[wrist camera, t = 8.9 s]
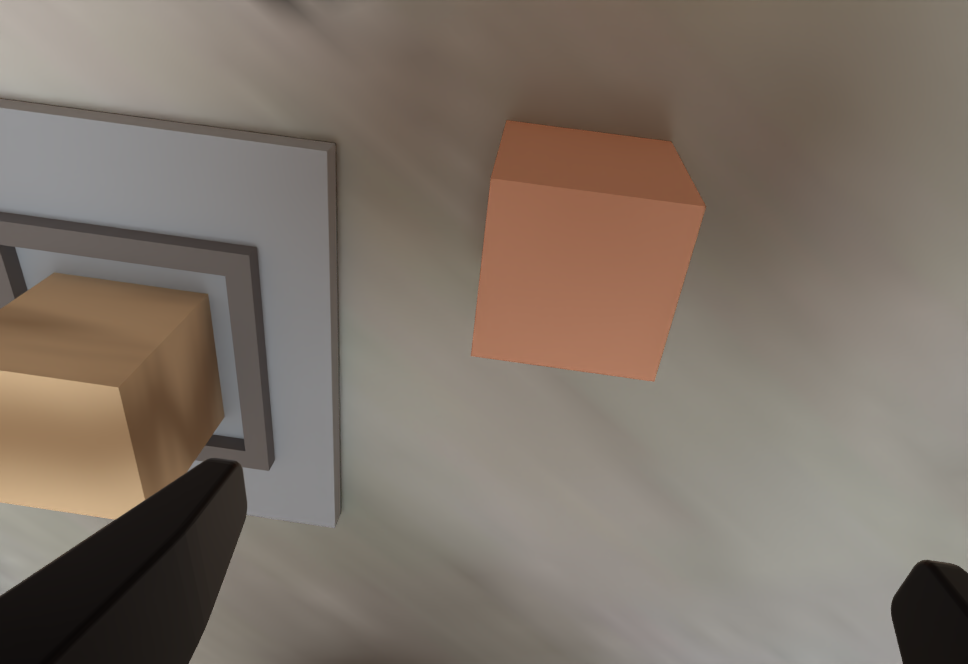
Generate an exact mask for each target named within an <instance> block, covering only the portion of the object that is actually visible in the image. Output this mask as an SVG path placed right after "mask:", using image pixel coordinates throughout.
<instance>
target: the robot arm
mask: <svg viewBox="0 0 968 664" xmlns="http://www.w3.org/2000/svg"><path fill="white" fill-rule="evenodd" d="M246 514H247V497H246V489H245V481H244V474H243V468H242V466H241V464H240V463H239V462H237V461H234V460H227V459H220V458H209V459H207V460H205V461H203V462H201V463H200V464H198V465H197V466H195V467H194V468H192V469H191V470H189V471H188V472H186V473H185V474H183V475H182V476H180V477H179V478H177V479H176V480H174V481H173V482H171V483H170V484H168V485H167V486H165V487H164V488H162V489H161V490H159V491H158V492H156V493H155V494H153V495H152V496H150V497H149V498H147V499H146V500H144V501H143V502H141V503H140V504H138V505H137V506H135V507H134V508H132V509H131V510H129V511H128V512H126V513H125V514H123V515H122V516H120V517H118V518H117V519H115V520H114V521H112V522H111V523H109V524H108V525H106V526H105V527H103V528H102V529H100V530H99V531H97V532H96V533H94V534H93V535H91V536H90V537H88V538H87V539H85V540H84V541H82V542H81V543H79V544H78V545H76V546H75V547H73V548H72V549H70V550H69V551H67V552H66V553H64V554H63V555H61V556H60V557H58V558H57V559H55V560H54V561H52V562H51V563H49V564H48V565H46V566H45V567H43V568H42V569H40V570H39V571H37V572H36V573H34V574H33V575H31V576H30V577H28V578H27V579H25V580H24V581H22V582H21V583H19V584H18V585H16V586H15V587H13V588H12V589H10V590H8V591H7V592H5V593H4V594H2V595H1V596H0V664H188V663H189V661H190V659H191V657H192V655H193V653H194V651H195V649H196V647H197V645H198V643H199V641H200V639H201V636H202V634H203V632H204V630H205V628H206V625H207V623H208V620H209V617H210V615H211V612H212V610H213V607H214V604H215V602H216V599H217V596H218V593H219V591H220V588H221V585H222V582H223V580H224V577H225V574H226V571H227V569H228V566H229V563H230V560H231V558H232V555H233V552H234V549H235V547H236V544H237V541H238V539H239V536H240V533H241V530H242V528H243V525H244V522H245V519H246ZM891 616H892V621H893V625H894V629H895V633H896V637H897V641H898V645H899V649H900V653H901V657H902V662H903V664H968V573H967V572H966V571H964V570H963V569H962V568H960V567H959V566H957V565H954V564H951V563H945V562H938V561H931V560H922V561H920V562H918V563H917V564H916V565H915V566H914V567H913V569H912V570H911V572H910V573H909V575H908V576H907V578H906V579H905V581H904V582H903V584H902V585H901V586H900V588H899V589H898V591H897V592H896V594H895V595H894V597H893V600H892V604H891Z"/></svg>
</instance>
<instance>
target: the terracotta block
mask: <svg viewBox="0 0 968 664" xmlns="http://www.w3.org/2000/svg"><path fill="white" fill-rule="evenodd" d="M705 209H706V206H705V204H704V202H703V200H702V198H701V196H700V194H699V193H698V191H697V189H696V187H695V185H694V183H693V181H692V179H691V178H690V176H689V174H688V172H687V170H686V168H685V166H684V164H683V163H682V161H681V159H680V157H679V155H678V153H677V151H676V149H675V148H674V146H673V144H672V142H671V141H663V140H656V139H648V138H640V137H633V136H625V135H617V134H609V133H602V132H594V131H586V130H578V129H571V128H563V127H555V126H547V125H540V124H532V123H524V122H517V121H509V120H506V124H505V128H504V131H503V135H502V139H501V142H500V146H499V150H498V153H497V157H496V161H495V164H494V168H493V172H492V175H491V180H490V189H489V198H488V207H487V216H486V225H485V234H484V243H483V252H482V261H481V270H480V279H479V288H478V297H477V306H476V315H475V324H474V333H473V342H472V351H471V356H475V357H482V358H489V359H496V360H503V361H511V362H518V363H525V364H532V365H539V366H546V367H553V368H561V369H568V370H575V371H582V372H589V373H596V374H604V375H611V376H618V377H625V378H632V379H639V380H646V381H655V377H656V374H657V371H658V367H659V364H660V360H661V357H662V354H663V350H664V347H665V344H666V340H667V337H668V333H669V330H670V327H671V323H672V320H673V317H674V313H675V310H676V307H677V303H678V300H679V296H680V293H681V290H682V286H683V283H684V280H685V276H686V273H687V269H688V266H689V263H690V259H691V256H692V253H693V249H694V246H695V242H696V239H697V236H698V232H699V229H700V226H701V222H702V219H703V215H704V212H705Z"/></svg>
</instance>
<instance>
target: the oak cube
mask: <svg viewBox="0 0 968 664" xmlns="http://www.w3.org/2000/svg"><path fill="white" fill-rule="evenodd" d="M224 417H225V416H224V408H223V401H222V393H221V386H220V378H219V371H218V363H217V356H216V348H215V341H214V333H213V326H212V318H211V311H210V303H209V296H208V294H205V293H198V292H190V291H183V290H176V289H169V288H162V287H155V286H147V285H140V284H133V283H126V282H119V281H112V280H104V279H97V278H90V277H83V276H76V275H69V274H61V273H53V274H51V275H50V276H48V277H47V278H45V279H44V280H42V281H41V282H39V283H38V284H36V285H35V286H34V287H32V288H31V289H29V290H28V291H26V292H25V293H23V294H22V295H20V296H19V297H17V298H16V299H14V300H13V301H11V302H10V303H9V304H7V305H6V306H4V307H3V308H1V309H0V502H2V503H8V504H15V505H22V506H29V507H35V508H42V509H49V510H55V511H62V512H69V513H75V514H82V515H89V516H95V517H102V518H109V519H117V518H118V517H120V516H122V515H123V514H125V513H126V512H128V511H129V510H131V509H132V508H134V507H135V506H137V505H138V504H140V503H141V502H143V501H144V500H146V499H147V498H149V497H150V496H152V495H153V494H155V493H156V492H158V491H159V490H161V489H162V488H164V487H165V486H167V485H168V484H170V483H171V482H173V481H174V480H176V479H177V478H179V477H180V476H182V475H183V474H185V473H186V472H187V471H188V470H189V468H190V467H191V465H192V464H193V462H194V461H195V460H196V458H197V457H198V455H199V454H200V452H201V451H202V449H203V448H204V446H205V445H206V443H207V442H208V441H209V439H210V438H211V436H212V435H213V433H214V432H215V430H216V429H217V427H218V426H219V424H220V423H221V422H222V420H223V419H224Z"/></svg>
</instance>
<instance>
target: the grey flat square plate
mask: <svg viewBox="0 0 968 664" xmlns="http://www.w3.org/2000/svg"><path fill="white" fill-rule="evenodd" d="M53 273H61V274H69V275H76V276H83V277H90V278H97V279H104V280H112V281H119V282H126V283H133V284H140V285H147V286H155V287H162V288H169V289H176V290H183V291H190V292H198V293H205V294H208V296H209V303H210V311H211V318H212V326H213V333H214V341H215V348H216V356H217V363H218V371H219V378H220V386H221V393H222V401H223V408H224V416H225V417H224V419H223V420H222V422H221V423H220V424H219V426H218V427H217V429H216V430H215V432H214V433H213V435H212V436H211V438H210V439H209V441H208V442H207V443H206V445H205V446H204V448H203V449H202V451H201V452H200V454H199V455H198V457H197V458H196V460H195V461H194V462H193V464H192V465H191V467H190V468H189V470H191V469H192V468H194V467H195V466H197V465H198V464H200V463H201V462H203V461H205V460H207V459H209V458H220V459H227V460H234V461H237V462H239V463H240V464H241V466H242V468H243V474H244V481H245V489H246V497H247V514H246V515H250V516H257V517H264V518H271V519H277V520H284V521H291V522H297V523H304V524H311V525H318V526H324V527H331V528H335V527H336V524H337V522H338V519H339V516H340V514H341V492H340V424H339V356H338V288H337V220H336V152H335V143H329V142H322V141H314V140H307V139H299V138H292V137H284V136H277V135H269V134H262V133H254V132H247V131H239V130H232V129H224V128H217V127H209V126H202V125H194V124H187V123H179V122H172V121H164V120H157V119H149V118H142V117H134V116H127V115H119V114H112V113H104V112H97V111H89V110H82V109H74V108H67V107H59V106H52V105H44V104H37V103H29V102H22V101H14V100H7V99H0V309H1V308H3V307H4V306H6V305H7V304H9V303H10V302H11V301H13V300H14V299H16V298H17V297H19V296H20V295H22V294H23V293H25V292H26V291H28V290H29V289H31V288H32V287H34V286H35V285H36V284H38V283H39V282H41V281H42V280H44V279H45V278H47V277H48V276H50V275H51V274H53ZM189 470H188V471H189ZM188 471H187V472H188Z"/></svg>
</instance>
